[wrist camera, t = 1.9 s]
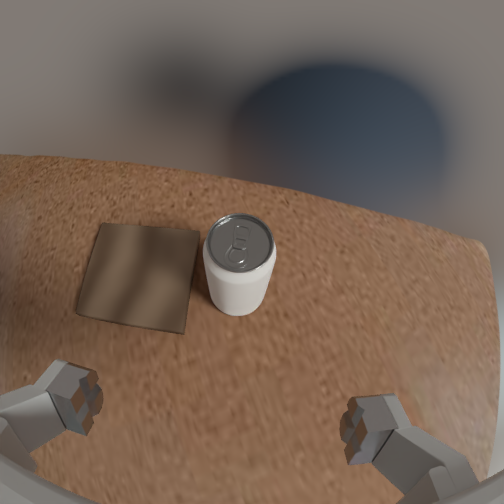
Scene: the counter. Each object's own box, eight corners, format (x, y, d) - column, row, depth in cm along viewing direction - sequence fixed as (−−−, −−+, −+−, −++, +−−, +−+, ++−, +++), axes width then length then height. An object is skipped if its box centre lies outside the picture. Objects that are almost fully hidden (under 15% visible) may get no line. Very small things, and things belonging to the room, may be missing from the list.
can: (204, 311, 33) (192, 269, 23) (216, 261, 36) (211, 203, 26) (259, 321, 33) (273, 284, 23) (267, 271, 36) (283, 216, 26)
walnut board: (79, 315, 32) (75, 313, 31) (105, 227, 38) (102, 222, 37) (184, 334, 32) (182, 332, 31) (200, 235, 38) (199, 230, 37)
